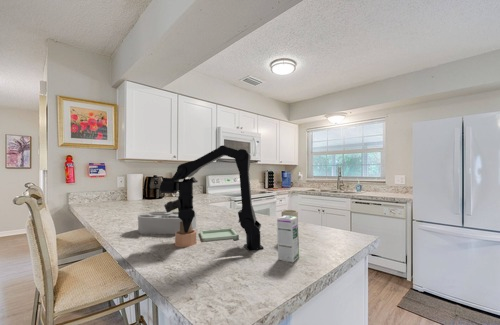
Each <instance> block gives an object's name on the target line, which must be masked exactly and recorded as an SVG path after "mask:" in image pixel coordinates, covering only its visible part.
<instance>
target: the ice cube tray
mask: <svg viewBox="0 0 500 325" xmlns="http://www.w3.org/2000/svg"><path fill="white" fill-rule="evenodd" d="M181 221H182V220H181V219H180V218H178V211H170V212H168V213H167V212H166V211H150V212H144V213H141V214H138V215H137V223H138V224H137V231H138V233H139V234H141V235H147V236H148V235H158V234H159V235H160V234H161V235H162V234H164V235H175V232H176V231H180V222H181ZM196 227H197V212H195V217H194V218H193V220H192V230H196Z"/></svg>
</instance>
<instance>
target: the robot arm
mask: <svg viewBox="0 0 500 325" xmlns="http://www.w3.org/2000/svg"><path fill="white" fill-rule="evenodd" d="M225 156H226V157H229V158H232V159H234V161H235V163H236V167H237V169H238V173H239V185H240V196H241V209H240V210H238V212H237V216H238V222H237V223H239V224H240V227H241V228H242V229H243V230H244V232H245V235H246V236H245V237H246V239H245V240H246V243H245V244H243V247H244V248H245V249H246V250H247V251H256V250H263V249H264V246H263V245H262V244H261V231H260V230H261V227H262V224H261V223H260V221H258V220H257V217H256V213H255V210H254V207H253V204H252V203H253V202H252V190H251V183H250V182H251V181H250V180H251V179H250V178H251V177H250V166H251V159H252V158H251V157H252V156H251V153H250V152H249V151H247V150H246V149H243V148H240V149H235V148H232V147H228V146H226V145H220V146H218V147H216V148H215V149H213V150H212V151H209V152H208V153H206V154H204V155H202V156H201V157H199V158H197V159H194V160H191V161H187V162H184V163H180V164H179V165H178V166H177V169H176V171H175V173H174V174H173V175H172V177H162V180H161V183H160V185H159V190H160V193H161V194H177V193H178V196H177V199H176V200H173V201H172V200H170V201H167V202H166V203H165V204H164V209H165V212H167V213H168V212H173V211H175V210H176V209H177V212H178V218H180V219H181V220H182V221H183V226H184V231H185V233H187V232H188V230H189V227H190V225H191V222H192V220H193V218H194V217H195V213H196V212H195V210H194V194H193V192H194V188H193V186H194V184H196V183H198V182H199V181H198V180H197V179H196V178H195V177H194V175H195V174H197V173H198V172H199V171H200V170H201V169H203V168H204V167H205V166H209V164H212V163H213V162H215V161H217V160H220V159H221V158H222V157H225ZM181 180H182V181H181Z"/></svg>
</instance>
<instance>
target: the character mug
mask: <svg viewBox="0 0 500 325" xmlns="http://www.w3.org/2000/svg"><path fill="white" fill-rule="evenodd" d="M298 212H299V211H298V210H295V209H282V210H281V217H282V216H296V217H298V218H299V215H298V214H299V213H298Z"/></svg>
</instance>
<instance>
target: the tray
mask: <svg viewBox="0 0 500 325" xmlns="http://www.w3.org/2000/svg"><path fill="white" fill-rule="evenodd" d="M199 235H200V238H201V240H202V241H201V242H202V243H203V242H204V243H205V242H213V241H222V240H231V239H232V241H239V240H240V236H239V234H238V233H237V232H236V231H235V230H234V229H233V227H230V228H229V227H228V228H227V227H226V228H218V229H217V228H215V229H205V230H199Z"/></svg>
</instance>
